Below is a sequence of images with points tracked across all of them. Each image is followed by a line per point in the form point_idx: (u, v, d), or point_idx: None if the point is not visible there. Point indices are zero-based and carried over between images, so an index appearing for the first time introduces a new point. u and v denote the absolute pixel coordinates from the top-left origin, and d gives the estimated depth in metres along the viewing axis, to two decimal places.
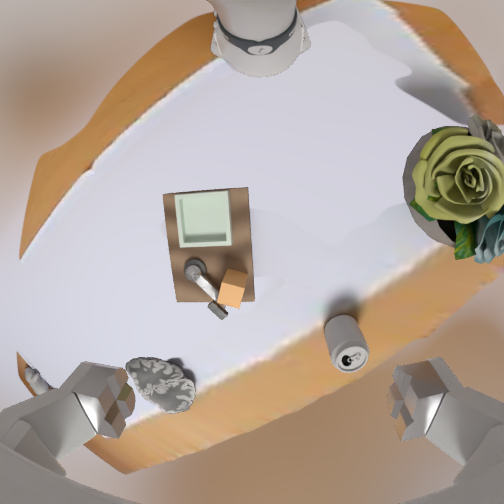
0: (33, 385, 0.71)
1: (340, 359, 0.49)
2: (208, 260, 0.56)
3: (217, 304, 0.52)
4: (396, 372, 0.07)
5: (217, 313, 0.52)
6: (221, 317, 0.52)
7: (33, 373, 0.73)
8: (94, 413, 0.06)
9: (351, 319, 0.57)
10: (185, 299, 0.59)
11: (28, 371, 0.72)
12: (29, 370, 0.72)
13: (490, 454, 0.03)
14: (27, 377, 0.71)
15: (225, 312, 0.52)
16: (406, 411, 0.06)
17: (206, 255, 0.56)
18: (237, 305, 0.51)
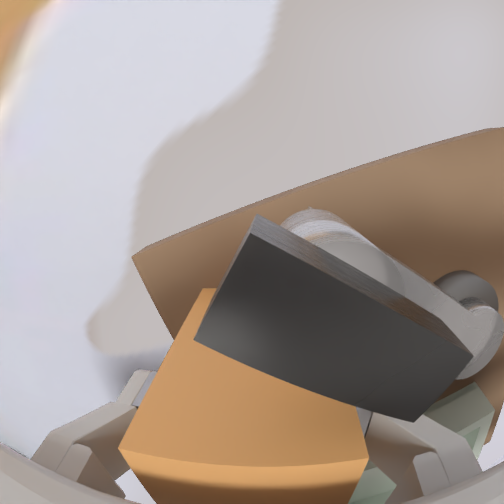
0: None
1: None
2: None
3: None
4: None
5: (354, 330, 0.03)
6: (275, 285, 0.03)
7: None
8: None
9: None
10: (482, 149, 0.08)
11: None
12: None
13: (412, 484, 0.03)
14: None
15: None
16: None
17: None
18: (148, 468, 0.04)
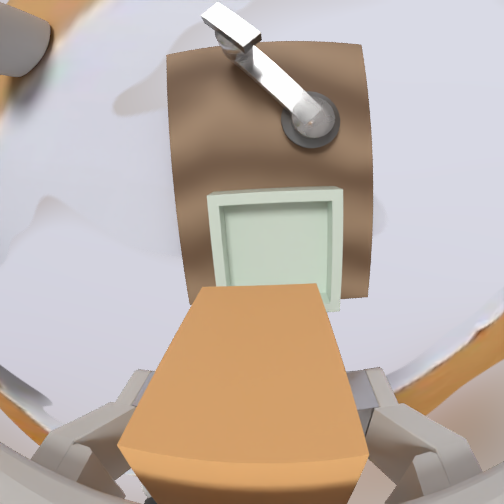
0: None
1: None
2: (275, 143, 0.21)
3: (232, 42, 0.14)
4: None
5: (230, 17, 0.13)
6: (218, 8, 0.13)
7: None
8: None
9: (7, 75, 0.19)
10: (339, 48, 0.19)
11: None
12: None
13: (412, 484, 0.03)
14: None
15: (208, 23, 0.13)
16: None
17: (280, 156, 0.22)
18: (147, 466, 0.04)
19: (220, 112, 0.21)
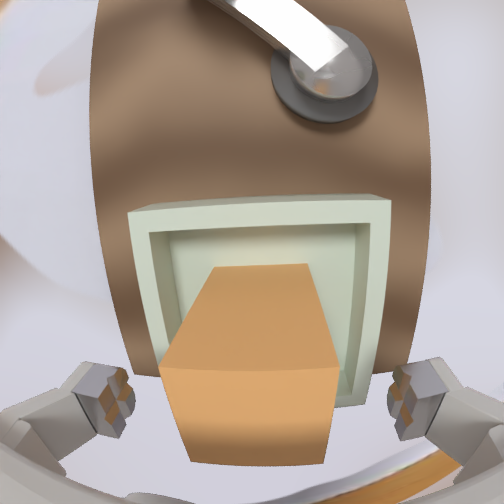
0: None
1: None
2: (260, 115, 0.11)
3: None
4: (396, 372, 0.07)
5: None
6: None
7: None
8: (94, 413, 0.06)
9: None
10: None
11: None
12: None
13: (490, 454, 0.03)
14: None
15: None
16: (406, 411, 0.06)
17: (269, 138, 0.12)
18: (179, 385, 0.06)
19: (166, 68, 0.11)
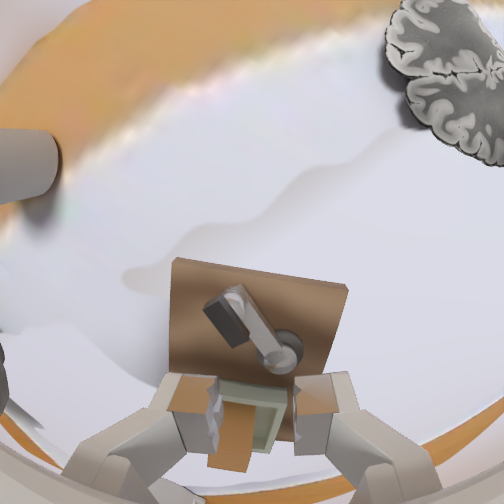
0: None
1: None
2: (249, 358, 0.28)
3: None
4: None
5: (226, 320, 0.19)
6: (218, 308, 0.19)
7: None
8: (193, 431, 0.06)
9: None
10: (326, 293, 0.26)
11: None
12: None
13: (364, 495, 0.03)
14: None
15: None
16: None
17: (250, 366, 0.28)
18: None
19: (211, 327, 0.27)
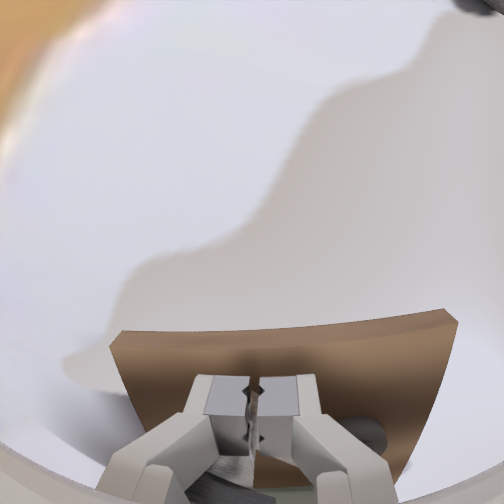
0: None
1: None
2: None
3: None
4: None
5: None
6: None
7: None
8: (229, 433, 0.06)
9: None
10: (421, 340, 0.11)
11: None
12: None
13: (315, 502, 0.04)
14: None
15: None
16: None
17: (299, 470, 0.14)
18: None
19: None
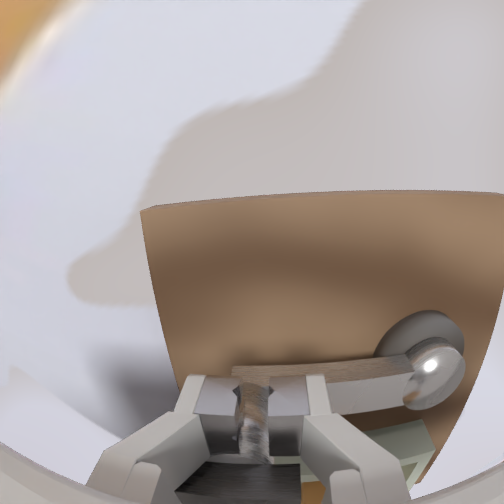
0: None
1: None
2: None
3: None
4: None
5: (218, 503, 0.05)
6: (179, 496, 0.05)
7: None
8: (220, 433, 0.06)
9: None
10: (487, 209, 0.09)
11: None
12: None
13: (328, 501, 0.04)
14: None
15: None
16: None
17: None
18: None
19: (265, 349, 0.12)
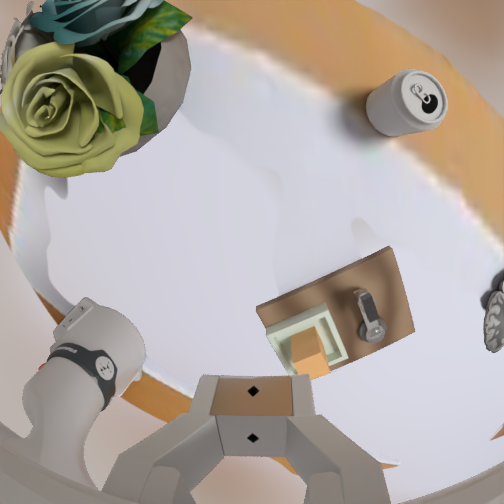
0: None
1: (431, 115, 0.25)
2: (356, 319, 0.43)
3: (366, 314, 0.36)
4: None
5: (372, 307, 0.35)
6: (370, 300, 0.34)
7: None
8: (235, 434, 0.06)
9: (369, 105, 0.33)
10: (410, 324, 0.42)
11: None
12: None
13: (307, 503, 0.04)
14: None
15: (362, 302, 0.35)
16: None
17: (351, 323, 0.43)
18: (318, 356, 0.36)
19: None
